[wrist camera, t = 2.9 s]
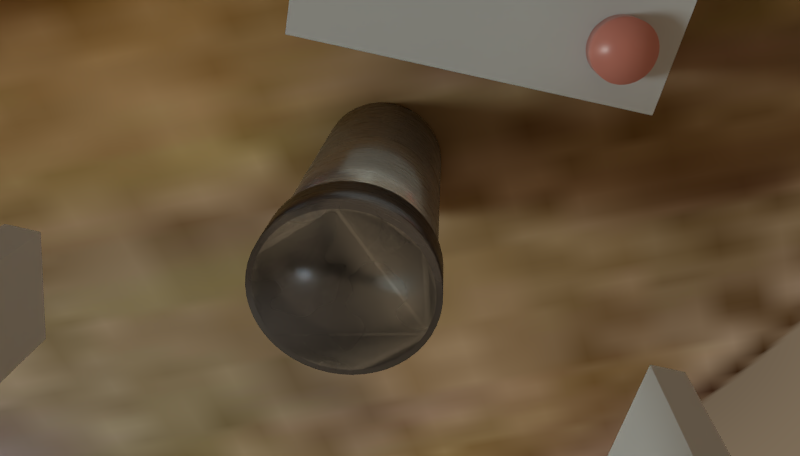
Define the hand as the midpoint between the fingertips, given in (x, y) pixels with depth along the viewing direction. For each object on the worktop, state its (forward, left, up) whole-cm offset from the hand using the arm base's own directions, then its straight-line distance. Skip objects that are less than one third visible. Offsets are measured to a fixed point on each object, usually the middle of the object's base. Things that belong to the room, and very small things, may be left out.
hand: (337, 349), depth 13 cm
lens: (0, 0, -12) cm, 12 cm away
